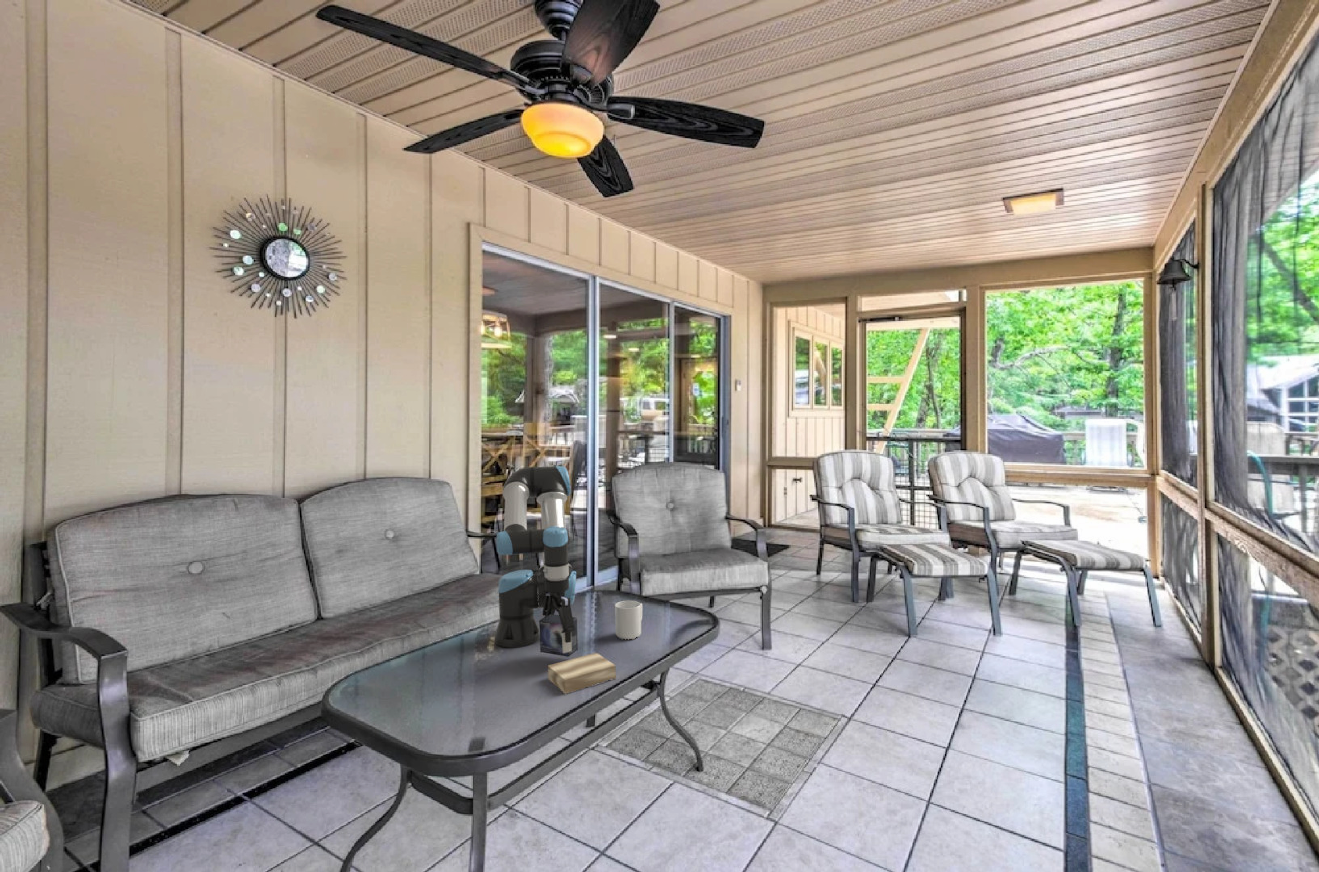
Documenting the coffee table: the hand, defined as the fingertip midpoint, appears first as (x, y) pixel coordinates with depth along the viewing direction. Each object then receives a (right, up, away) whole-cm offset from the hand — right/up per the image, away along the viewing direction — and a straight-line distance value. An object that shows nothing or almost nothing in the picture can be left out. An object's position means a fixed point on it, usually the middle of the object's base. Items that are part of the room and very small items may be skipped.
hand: (558, 645), depth 190 cm
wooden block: (+9, -5, -14) cm, 17 cm away
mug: (+22, -4, +21) cm, 31 cm away
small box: (0, -2, 0) cm, 2 cm away
